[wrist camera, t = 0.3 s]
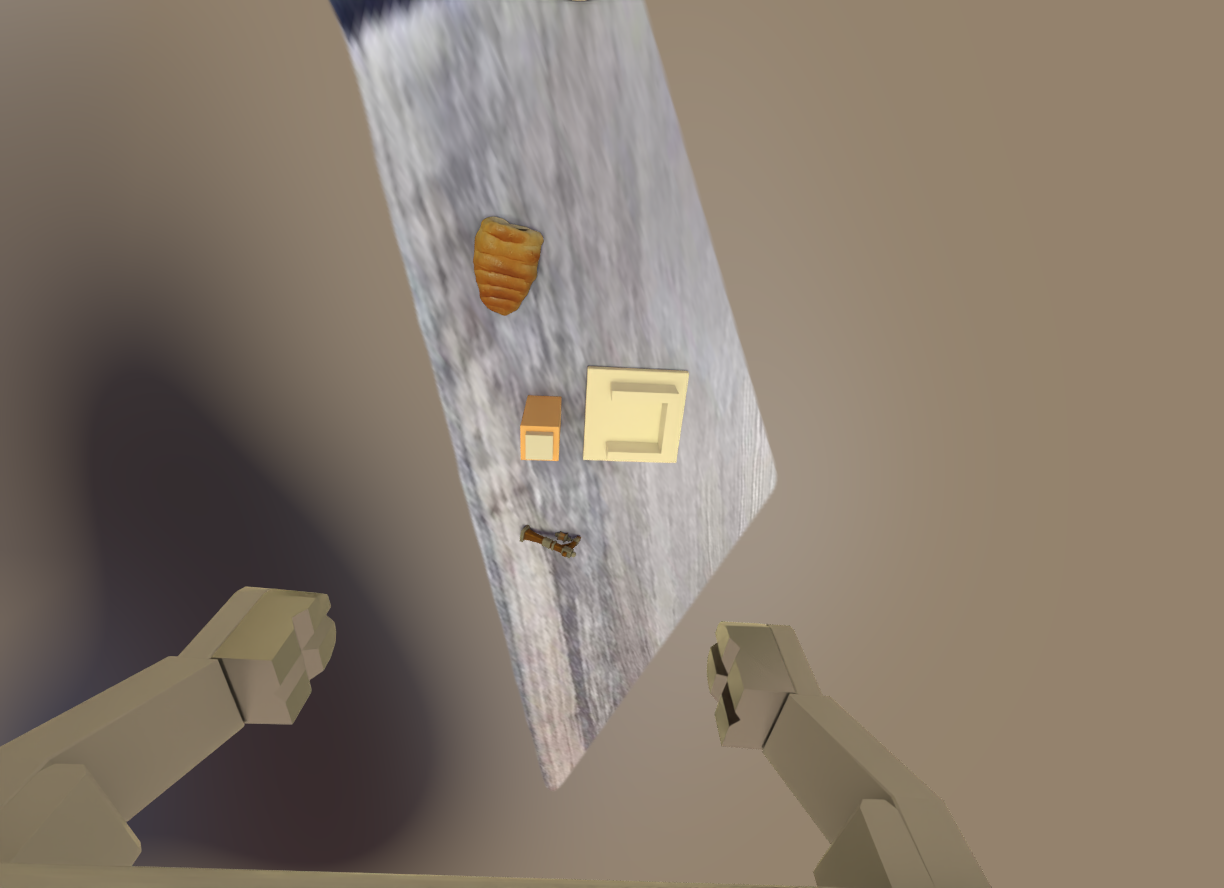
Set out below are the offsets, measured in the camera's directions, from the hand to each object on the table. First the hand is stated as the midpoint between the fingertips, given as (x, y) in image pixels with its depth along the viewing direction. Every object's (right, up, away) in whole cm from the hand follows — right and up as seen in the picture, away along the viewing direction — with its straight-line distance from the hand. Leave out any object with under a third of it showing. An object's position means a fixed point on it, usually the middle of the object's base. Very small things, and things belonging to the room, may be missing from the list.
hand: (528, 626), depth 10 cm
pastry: (-9, +23, +41) cm, 48 cm away
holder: (+4, +7, +50) cm, 50 cm away
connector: (-6, +8, +49) cm, 50 cm away
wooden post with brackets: (-7, -8, +57) cm, 58 cm away
